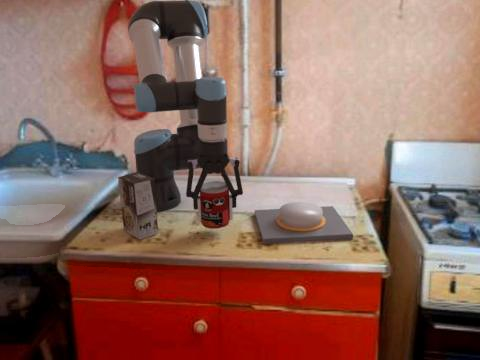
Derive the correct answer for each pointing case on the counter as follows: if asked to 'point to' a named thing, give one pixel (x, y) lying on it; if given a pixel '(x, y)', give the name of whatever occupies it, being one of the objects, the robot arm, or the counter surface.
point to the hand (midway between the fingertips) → (215, 218)
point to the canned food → (214, 204)
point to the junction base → (292, 236)
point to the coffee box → (138, 205)
